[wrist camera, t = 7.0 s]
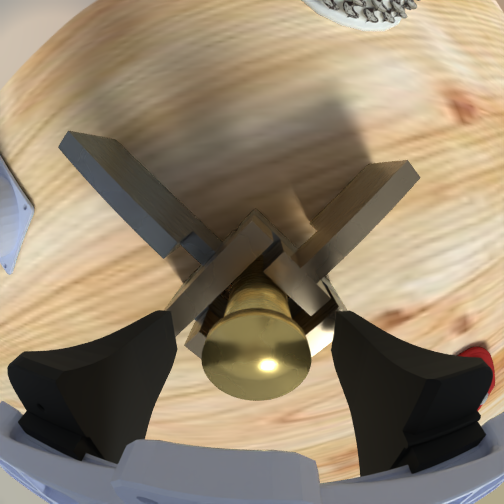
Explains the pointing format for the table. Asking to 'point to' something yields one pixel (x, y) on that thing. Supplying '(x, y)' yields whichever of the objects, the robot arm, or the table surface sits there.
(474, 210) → the table surface
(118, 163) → the fixed leaf
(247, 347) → the hinge pin
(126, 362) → the robot arm
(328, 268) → the swing leaf
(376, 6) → the decorative candle
